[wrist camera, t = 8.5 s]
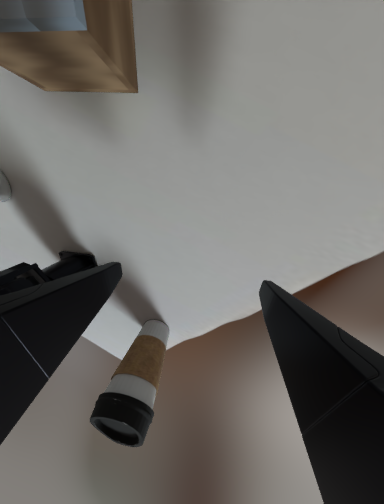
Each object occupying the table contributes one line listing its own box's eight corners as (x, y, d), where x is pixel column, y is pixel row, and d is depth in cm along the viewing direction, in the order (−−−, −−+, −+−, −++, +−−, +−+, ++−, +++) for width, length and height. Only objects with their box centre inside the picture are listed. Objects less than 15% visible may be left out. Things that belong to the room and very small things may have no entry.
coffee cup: (153, 343, 34) (114, 446, 21) (131, 320, 31) (70, 421, 18) (182, 336, 31) (158, 449, 18) (161, 311, 29) (115, 421, 15)
